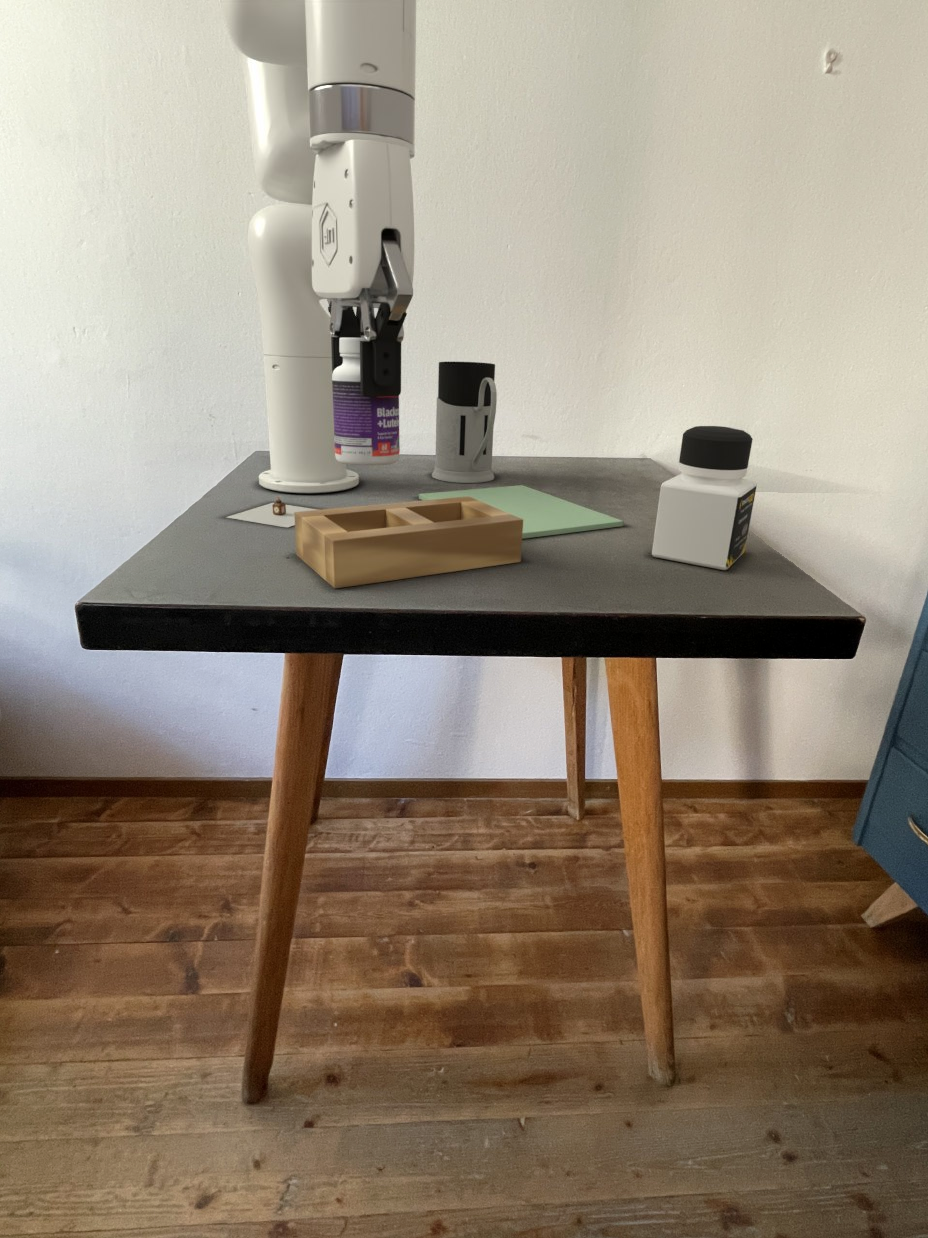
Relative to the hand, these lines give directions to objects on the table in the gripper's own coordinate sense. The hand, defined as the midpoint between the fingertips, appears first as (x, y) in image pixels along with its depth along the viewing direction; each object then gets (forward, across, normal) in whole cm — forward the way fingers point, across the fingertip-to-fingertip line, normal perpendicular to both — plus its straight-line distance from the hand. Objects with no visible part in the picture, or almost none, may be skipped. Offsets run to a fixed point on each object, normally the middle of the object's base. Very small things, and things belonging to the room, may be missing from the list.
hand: (365, 388), depth 60 cm
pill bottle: (+6, 0, 0) cm, 6 cm away
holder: (+15, +1, +4) cm, 15 cm away
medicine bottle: (+15, +11, +30) cm, 35 cm away
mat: (+15, -11, +23) cm, 29 cm away
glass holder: (+15, -28, +27) cm, 42 cm away
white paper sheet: (+15, -19, -2) cm, 25 cm away
